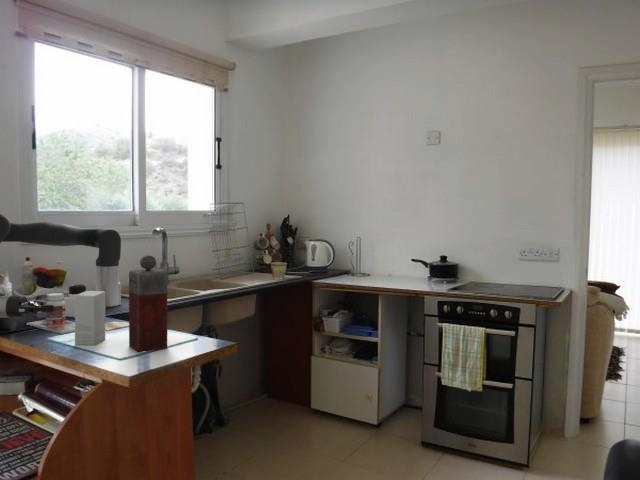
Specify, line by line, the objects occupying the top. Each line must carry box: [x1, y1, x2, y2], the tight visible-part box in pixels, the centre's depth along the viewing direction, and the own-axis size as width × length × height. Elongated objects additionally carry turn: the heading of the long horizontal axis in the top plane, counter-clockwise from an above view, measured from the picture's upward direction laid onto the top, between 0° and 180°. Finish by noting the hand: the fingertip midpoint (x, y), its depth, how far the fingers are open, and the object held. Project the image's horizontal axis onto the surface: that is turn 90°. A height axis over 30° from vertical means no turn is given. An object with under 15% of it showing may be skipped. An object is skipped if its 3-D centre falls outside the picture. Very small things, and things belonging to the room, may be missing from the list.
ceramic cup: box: [270, 261, 288, 280], centre depth 323 cm, size 13×10×10 cm
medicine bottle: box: [63, 284, 87, 319], centre depth 202 cm, size 7×7×12 cm
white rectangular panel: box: [26, 319, 75, 335], centre depth 183 cm, size 11×22×1 cm, turn 57°
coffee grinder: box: [128, 254, 168, 353], centre depth 158 cm, size 9×11×28 cm
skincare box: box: [74, 290, 106, 346], centre depth 162 cm, size 8×7×16 cm
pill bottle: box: [45, 292, 67, 327], centre depth 184 cm, size 6×6×11 cm
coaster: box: [105, 320, 129, 332], centre depth 185 cm, size 10×10×1 cm
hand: (58, 306), depth 184 cm, fingers open, 8 cm apart
